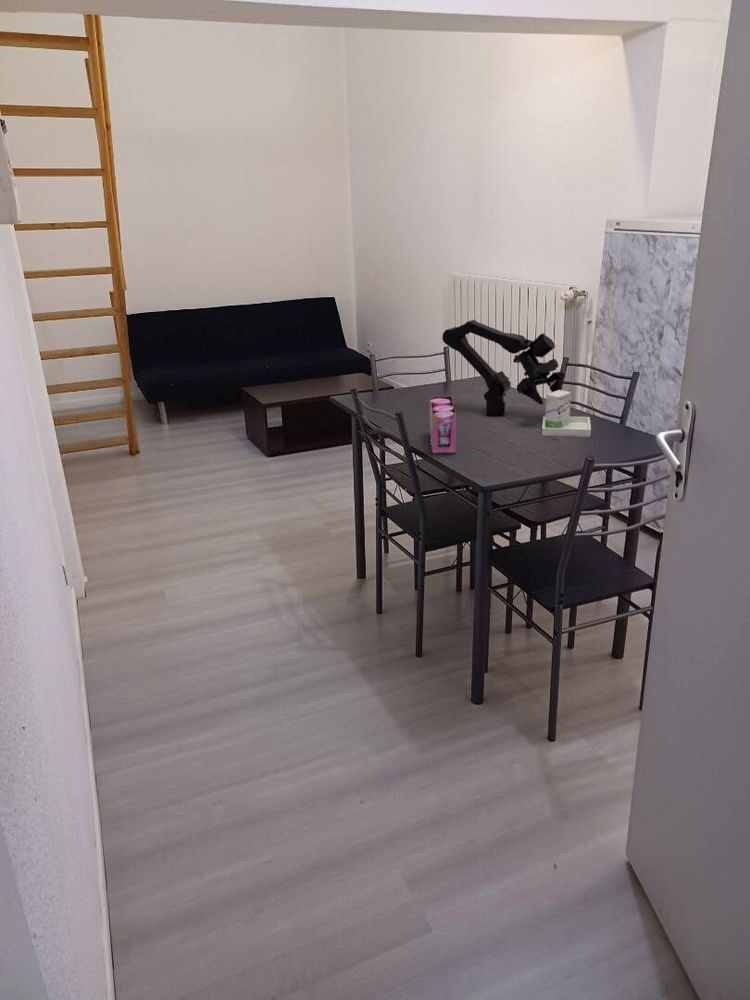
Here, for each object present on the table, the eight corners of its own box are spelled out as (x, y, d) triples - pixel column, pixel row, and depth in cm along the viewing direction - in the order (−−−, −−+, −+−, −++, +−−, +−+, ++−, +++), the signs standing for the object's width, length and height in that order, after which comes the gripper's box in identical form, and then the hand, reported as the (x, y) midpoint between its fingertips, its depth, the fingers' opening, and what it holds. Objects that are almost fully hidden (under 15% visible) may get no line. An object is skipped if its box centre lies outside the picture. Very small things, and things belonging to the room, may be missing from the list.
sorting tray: (541, 435, 258) (542, 428, 257) (543, 422, 272) (543, 415, 271) (590, 436, 254) (591, 429, 253) (589, 423, 269) (589, 416, 268)
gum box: (457, 455, 242) (457, 414, 237) (432, 456, 242) (431, 415, 237) (452, 434, 264) (452, 395, 259) (429, 434, 265) (428, 396, 259)
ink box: (556, 429, 262) (558, 396, 257) (544, 427, 265) (545, 394, 261) (569, 424, 267) (571, 391, 263) (557, 421, 270) (559, 389, 266)
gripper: (523, 355, 259) (544, 393, 255) (563, 348, 268) (584, 384, 264) (507, 374, 269) (527, 411, 264) (546, 367, 278) (566, 402, 273)
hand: (551, 401), depth 266 cm, fingers open, 9 cm apart
